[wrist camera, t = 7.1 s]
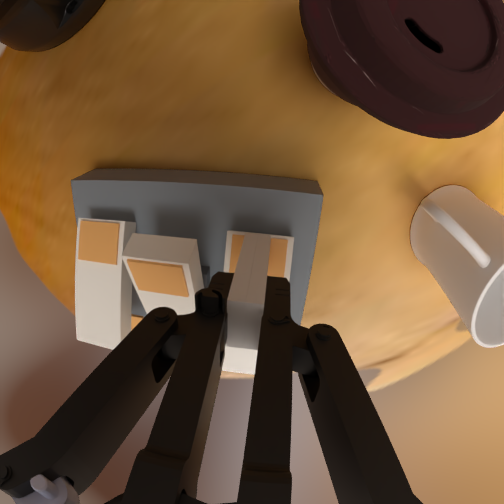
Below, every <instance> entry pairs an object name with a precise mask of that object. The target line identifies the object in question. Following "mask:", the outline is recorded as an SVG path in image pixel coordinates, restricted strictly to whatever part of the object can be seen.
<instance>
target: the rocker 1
mask: <svg viewBox="0 0 504 504" xmlns="http://www.w3.org/2000/svg"><path fill="white" fill-rule="evenodd" d="M135 231H136V222H127V221H115V220H101V219H88V218H78V229H77V243H76V265H75V313H76V334H77V340H79V341H83V342H87V343H90V344H94V345H97V346H101V347H105V348H109V349H113V350H114V348H115V347H116V346H117V345H118V344H119V343H120V342H121V341H122V340H123V339H124V338H125V337H126V336H127V335H128V334H129V333H130V332H131V306H132V280H131V278H130V275H129V273H128V271H127V268H126V266H125V264H124V261H123V259H122V256H121V255H122V253H123V251H124V249H125V247H126V245H127V243H128V241H129V239H130V237H131V235H132V233H135Z"/></svg>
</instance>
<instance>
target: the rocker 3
mask: <svg viewBox="0 0 504 504" xmlns="http://www.w3.org/2000/svg"><path fill="white" fill-rule="evenodd" d="M245 233H250V234H260V235H270V236H271V242H270V252H269V262H268V272H267V276H274V277H284V278H287V280H288V281H289V280H290V272H291V263H292V254H293V244H294V237H291V236H282V235H272V234H262V233H252V232H242V231H232V230H230V231H227V239H226V249H225V260H224V272H229V273H235V269H236V265H237V262H238V258H239V255H240V251H241V247H242V244H243V240H244V236H245ZM257 352H258V350H253V349H244V348H236V347H228V346H226V345H225V357H224V361H223V366H222V371H229V372H237V373H245V374H254V375H255V368H256V360H257Z"/></svg>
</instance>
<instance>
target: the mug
mask: <svg viewBox="0 0 504 504" xmlns="http://www.w3.org/2000/svg"><path fill="white" fill-rule="evenodd" d="M410 241H411V246H412V249H413V252H414V254H415V256H416V257H417V259H418V260H419V261H420V262H421V263H422V264H424V265H425V266H426V267H427V268H428V269H429V271H430V272H431V274H432V275H433V276H434V278H435V279H436V281H437V282H438V284H439V285H440V287H441V288H442V289H443V291H444V292H445V294H446V295H447V297H448V298H449V300H450V302H451V303H452V305H453V306H454V308H455V309H456V311H457V312H458V314H459V316H460V317H461V319H462V320H463V322H464V324H465V325H466V327H467V329H468V330H469V332H470V334H471V335H472V337H473V339H474V340H475V341H476V343H478V344H479V345H481V346H483V347H488V348H492V347H498V346H501V345H504V216H503V215H501V214H500V213H499V212H497V211H496V210H494V209H493V208H491V207H490V206H488V205H487V204H485V203H484V202H482V201H481V200H479V199H478V198H477V197H476V196H475V195H474V194H473V193H472V192H471V191H470V190H468V189H467V188H465V187H462V186H458V185H448V186H444V187H441V188H438V189H436V190H435V191H433V192H432V193H430V194H429V195H428V196H427V197H426V198H424V199H423V200H422V201H421V204H420V205H419V207H418V208H417V210H416V212H415V214H414V217H413V220H412V224H411V229H410Z"/></svg>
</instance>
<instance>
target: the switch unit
mask: <svg viewBox="0 0 504 504" xmlns="http://www.w3.org/2000/svg"><path fill="white" fill-rule="evenodd" d="M71 185H72V194H73V202H74V209H75V216H76V222H77V228H78V218H88V219H101V220H115V221H127V222H136V231H135V233H138V234H148V235H159V236H169V237H179V238H190V239H197V245H198V252H199V258H200V265H201V271H202V278H203V284H204V288H208V286H209V284H210V281H211V278H212V276H213V275H214V274H216V273H217V272H218V271H220V272H224V260H225V249H226V239H227V231H230V230H232V231H242V232H252V233H262V234H272V235H282V236H291V237H294V244H293V254H292V263H291V272H290V280H289V282H290V294H291V295H290V296H291V317H292V319H293V321H294V322H295V323H297V324H298V325H300V324H301V319H302V314H303V310H304V305H305V300H306V295H307V290H308V284H309V279H310V274H311V268H312V263H313V257H314V251H315V246H316V240H317V234H318V228H319V221H320V215H321V209H322V202H323V193H322V190H321V188H320V186H319V183H318V181H313V180H304V179H295V178H286V177H276V176H266V175H254V174H242V173H229V172H213V171H195V170H171V169H94V170H92V171H90V172H87V173H85V174H83V175H81V176H79V177H77V178H75V179H73V180H71ZM146 315H147V313H146V311H145V309H144V307H143V304H142V302H141V300H140V298H139V296H138V294H137V291H136V289H135V287H134V285H133V282H132V306H131V329H132V330H133V328H134V327H135V326H136V325H137V324H138V323H139V322H140V321H141V320H142V319H143V318H144V317H145V316H146Z"/></svg>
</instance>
